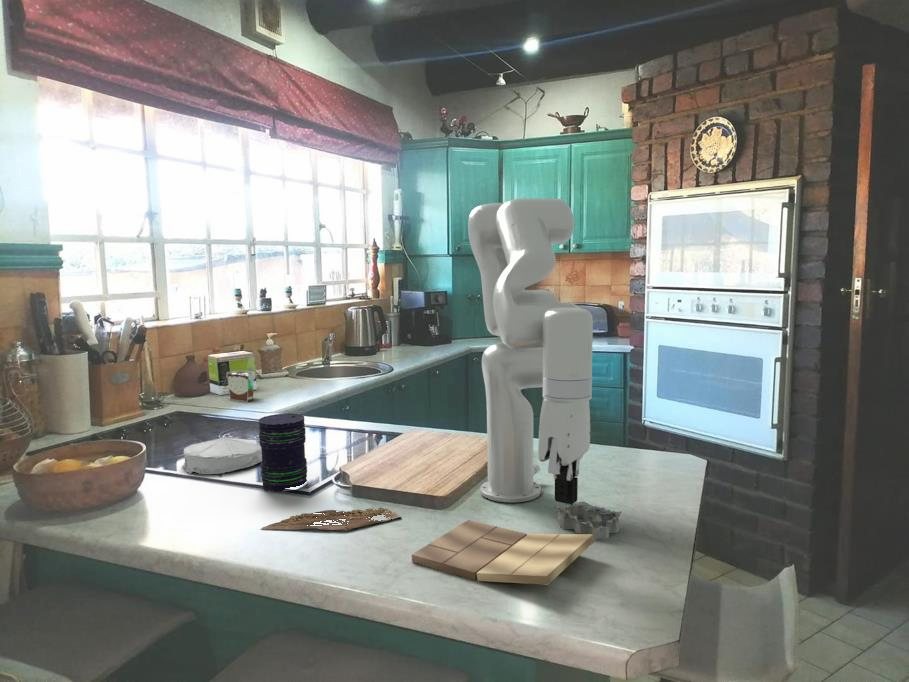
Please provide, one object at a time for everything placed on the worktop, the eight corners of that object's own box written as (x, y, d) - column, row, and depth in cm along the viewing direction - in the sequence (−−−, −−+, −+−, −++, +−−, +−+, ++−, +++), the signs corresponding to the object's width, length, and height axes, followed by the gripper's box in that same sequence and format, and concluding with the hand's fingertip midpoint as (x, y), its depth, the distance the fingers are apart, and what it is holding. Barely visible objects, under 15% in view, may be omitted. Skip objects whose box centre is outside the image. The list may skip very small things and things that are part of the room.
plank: (529, 540, 115) (528, 533, 115) (594, 541, 108) (592, 534, 108) (477, 580, 101) (476, 572, 101) (548, 584, 94) (546, 575, 94)
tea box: (247, 386, 266) (244, 350, 264) (257, 390, 258) (255, 352, 257) (209, 392, 257) (207, 354, 255) (219, 395, 249) (216, 356, 247)
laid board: (468, 526, 122) (468, 519, 122) (526, 540, 115) (526, 533, 115) (411, 561, 108) (411, 554, 108) (474, 580, 101) (474, 572, 101)
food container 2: (264, 399, 241) (262, 371, 240) (250, 402, 236) (249, 374, 234) (240, 396, 247) (239, 369, 246) (227, 399, 242) (225, 372, 241)
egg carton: (551, 527, 122) (551, 505, 121) (576, 515, 127) (575, 495, 126) (601, 544, 114) (601, 521, 113) (625, 531, 119) (625, 508, 119)
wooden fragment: (400, 508, 132) (400, 503, 132) (402, 530, 121) (402, 525, 121) (267, 517, 129) (267, 511, 129) (257, 540, 118) (257, 534, 118)
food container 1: (171, 463, 166) (169, 436, 165) (249, 447, 178) (247, 422, 177) (194, 484, 150) (191, 455, 150) (278, 465, 162) (277, 438, 161)
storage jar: (273, 496, 140) (269, 426, 138) (254, 484, 147) (250, 418, 145) (315, 485, 146) (313, 418, 144) (295, 474, 154) (292, 411, 152)
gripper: (564, 377, 111) (563, 483, 114) (522, 394, 99) (522, 512, 101) (608, 382, 107) (605, 491, 110) (569, 400, 95) (568, 523, 97)
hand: (565, 501), depth 105 cm, fingers closed
